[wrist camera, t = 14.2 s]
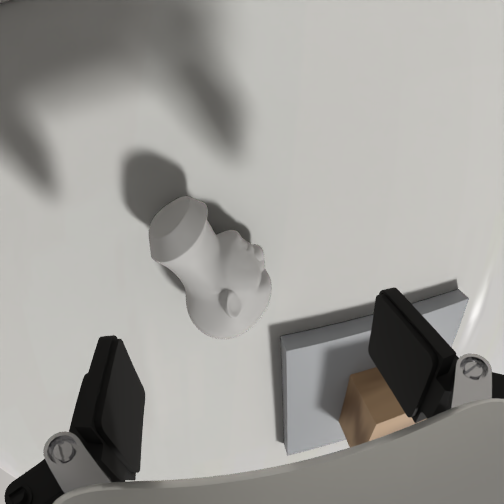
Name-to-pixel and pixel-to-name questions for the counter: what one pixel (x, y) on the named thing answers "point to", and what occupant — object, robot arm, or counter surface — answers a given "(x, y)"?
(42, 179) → the counter surface
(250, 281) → the smooth white sculpture
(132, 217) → the counter surface
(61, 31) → the counter surface
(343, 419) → the walnut brick
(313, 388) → the base board
